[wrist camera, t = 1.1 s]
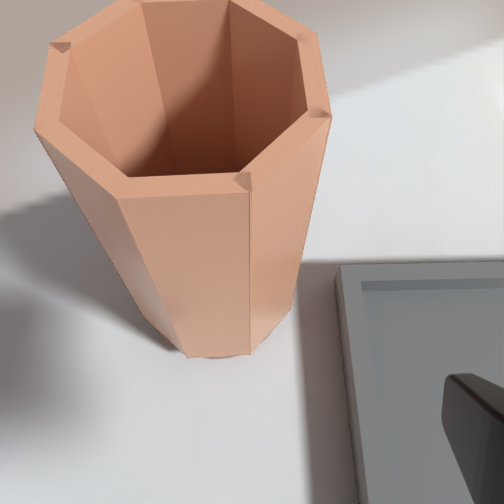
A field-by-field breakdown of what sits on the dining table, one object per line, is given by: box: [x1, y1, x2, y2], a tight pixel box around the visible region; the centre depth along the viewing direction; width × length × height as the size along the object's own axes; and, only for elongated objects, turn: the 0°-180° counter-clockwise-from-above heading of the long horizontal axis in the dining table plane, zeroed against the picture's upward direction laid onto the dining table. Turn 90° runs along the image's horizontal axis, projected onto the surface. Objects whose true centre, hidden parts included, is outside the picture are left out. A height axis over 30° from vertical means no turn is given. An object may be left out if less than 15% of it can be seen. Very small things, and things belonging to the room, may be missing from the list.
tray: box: [334, 261, 504, 504], centre depth 19 cm, size 15×11×2 cm
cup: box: [33, 0, 332, 359], centre depth 17 cm, size 6×6×13 cm
